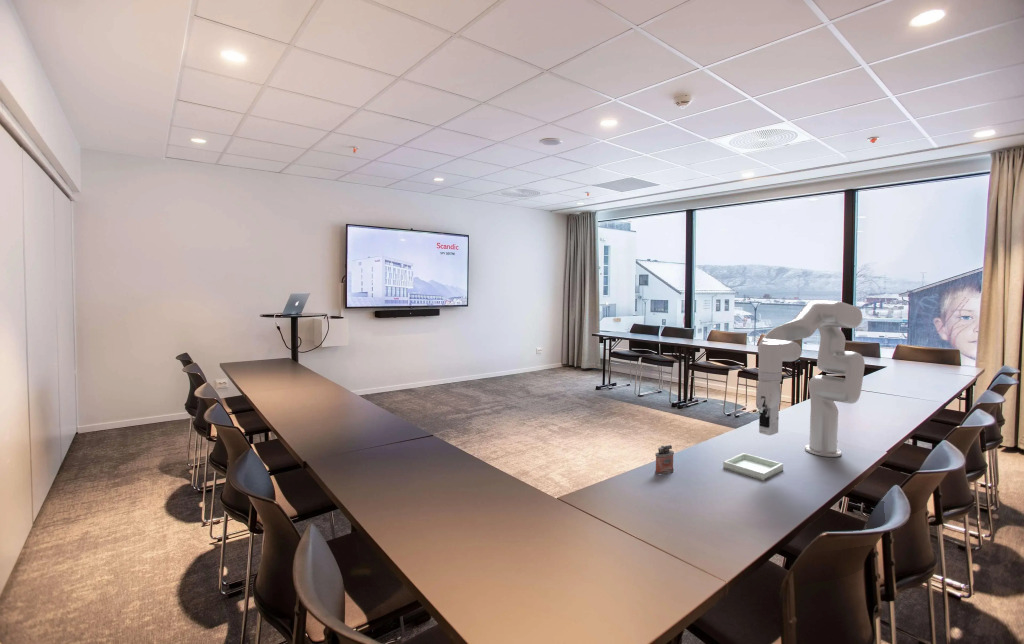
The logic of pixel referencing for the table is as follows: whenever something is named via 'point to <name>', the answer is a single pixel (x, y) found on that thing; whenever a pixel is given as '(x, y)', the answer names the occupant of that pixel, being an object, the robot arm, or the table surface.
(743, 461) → the sage tray
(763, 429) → the skincare box
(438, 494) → the table surface
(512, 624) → the table surface
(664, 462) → the lighter
